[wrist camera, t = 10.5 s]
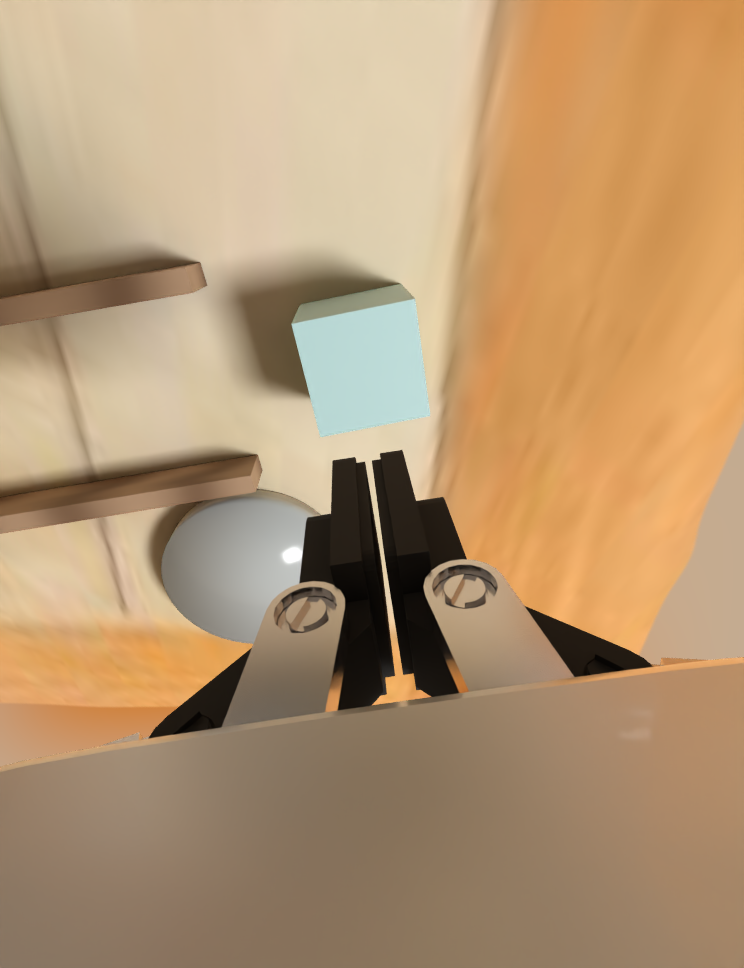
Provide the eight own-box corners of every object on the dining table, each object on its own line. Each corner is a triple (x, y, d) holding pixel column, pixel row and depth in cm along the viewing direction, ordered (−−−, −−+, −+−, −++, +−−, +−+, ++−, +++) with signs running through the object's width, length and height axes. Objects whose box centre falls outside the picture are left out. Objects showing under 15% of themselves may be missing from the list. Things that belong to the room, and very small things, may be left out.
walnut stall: (200, 262, 22) (185, 267, 20) (262, 470, 28) (255, 491, 25) (-199, 332, 23) (-256, 344, 21) (-62, 523, 28) (-95, 549, 26)
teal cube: (400, 283, 23) (415, 298, 19) (414, 382, 26) (430, 415, 21) (300, 303, 24) (291, 323, 19) (323, 400, 26) (320, 437, 22)
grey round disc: (325, 475, 28) (325, 488, 27) (357, 613, 33) (357, 629, 32) (141, 505, 28) (131, 519, 27) (201, 637, 34) (196, 655, 32)
